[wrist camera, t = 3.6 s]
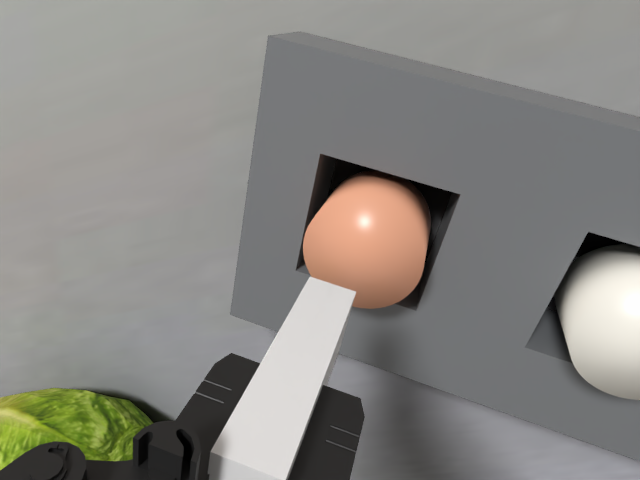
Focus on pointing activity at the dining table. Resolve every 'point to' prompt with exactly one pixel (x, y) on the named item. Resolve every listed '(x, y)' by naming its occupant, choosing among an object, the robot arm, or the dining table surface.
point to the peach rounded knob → (370, 238)
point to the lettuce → (69, 423)
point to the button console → (447, 221)
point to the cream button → (604, 318)
